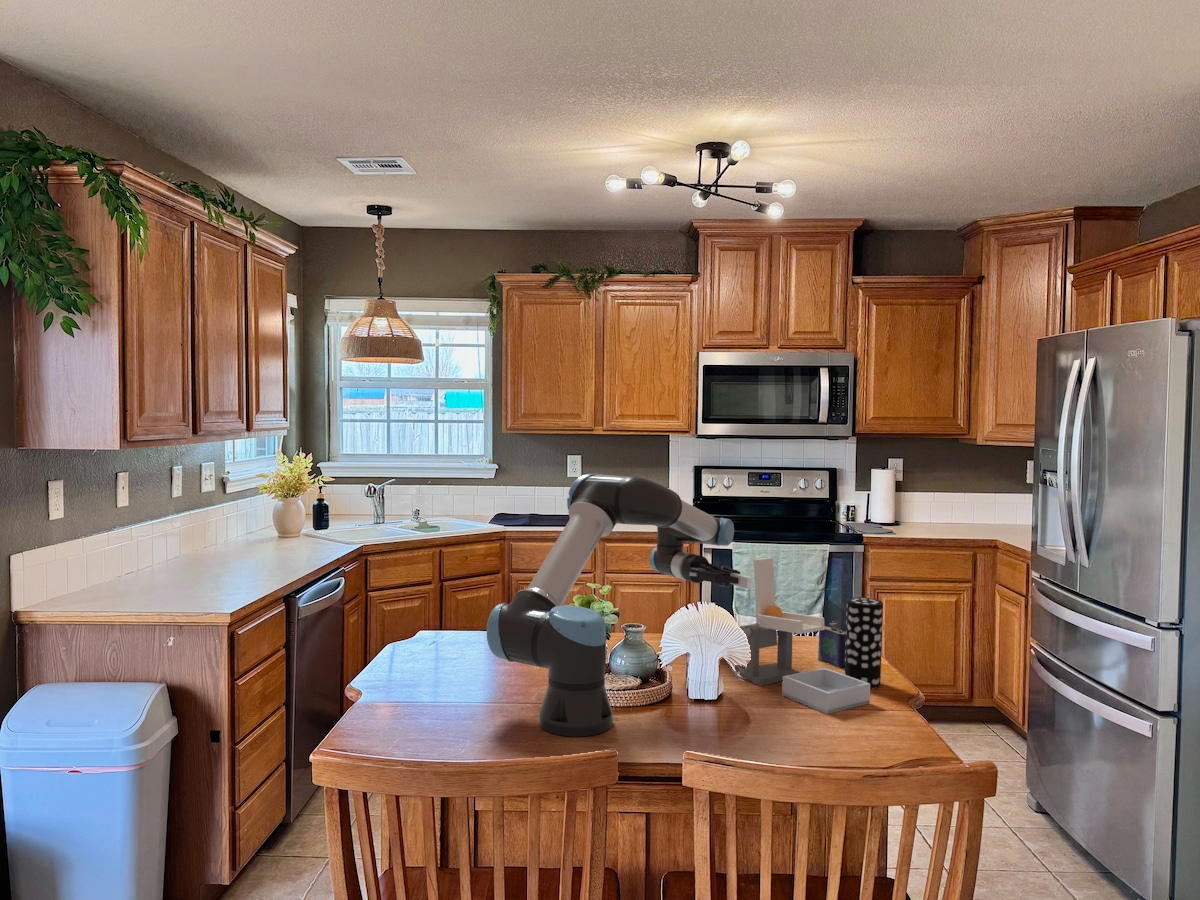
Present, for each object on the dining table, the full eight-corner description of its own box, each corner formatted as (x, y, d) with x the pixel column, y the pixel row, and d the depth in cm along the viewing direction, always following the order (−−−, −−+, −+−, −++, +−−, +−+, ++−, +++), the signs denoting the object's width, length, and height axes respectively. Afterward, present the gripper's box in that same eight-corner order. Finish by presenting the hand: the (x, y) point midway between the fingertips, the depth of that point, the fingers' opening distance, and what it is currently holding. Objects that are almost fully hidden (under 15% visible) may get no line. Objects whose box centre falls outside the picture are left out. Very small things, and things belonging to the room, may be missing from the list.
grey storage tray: (869, 703, 189) (870, 683, 189) (827, 714, 182) (827, 693, 182) (823, 686, 201) (824, 667, 201) (782, 695, 194) (782, 676, 193)
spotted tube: (882, 690, 199) (885, 606, 198) (845, 687, 200) (848, 603, 200) (878, 679, 207) (880, 598, 206) (842, 676, 209) (845, 596, 208)
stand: (801, 676, 208) (802, 624, 207) (756, 686, 200) (758, 632, 199) (777, 668, 214) (779, 617, 214) (734, 677, 207) (735, 624, 206)
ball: (787, 617, 203) (781, 601, 205) (773, 620, 202) (766, 605, 204) (780, 622, 207) (774, 607, 208) (766, 626, 205) (760, 610, 207)
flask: (815, 659, 223) (817, 619, 222) (824, 658, 224) (825, 618, 224) (841, 669, 215) (842, 627, 214) (849, 668, 216) (851, 626, 216)
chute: (826, 654, 197) (821, 560, 198) (800, 659, 192) (796, 563, 193) (763, 642, 214) (759, 556, 215) (738, 646, 210) (734, 558, 211)
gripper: (708, 578, 236) (768, 595, 216) (671, 583, 229) (729, 600, 209) (709, 552, 236) (769, 566, 216) (672, 555, 229) (730, 570, 209)
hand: (749, 582), depth 213 cm, fingers closed
